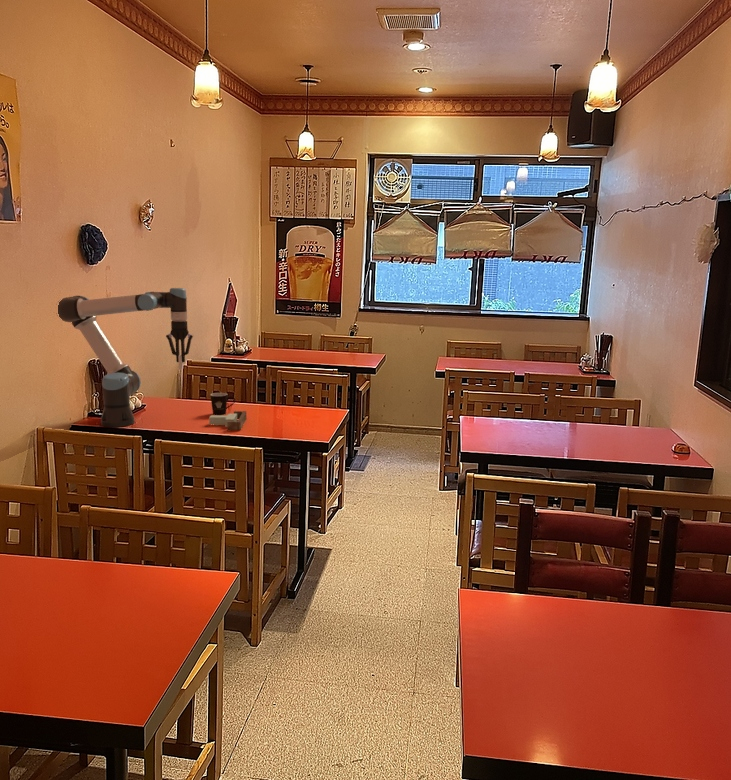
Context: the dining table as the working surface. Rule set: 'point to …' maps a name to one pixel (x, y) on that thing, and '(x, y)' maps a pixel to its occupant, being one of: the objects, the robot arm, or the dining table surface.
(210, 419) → the tee block
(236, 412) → the fence
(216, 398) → the coffee mug
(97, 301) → the robot arm
